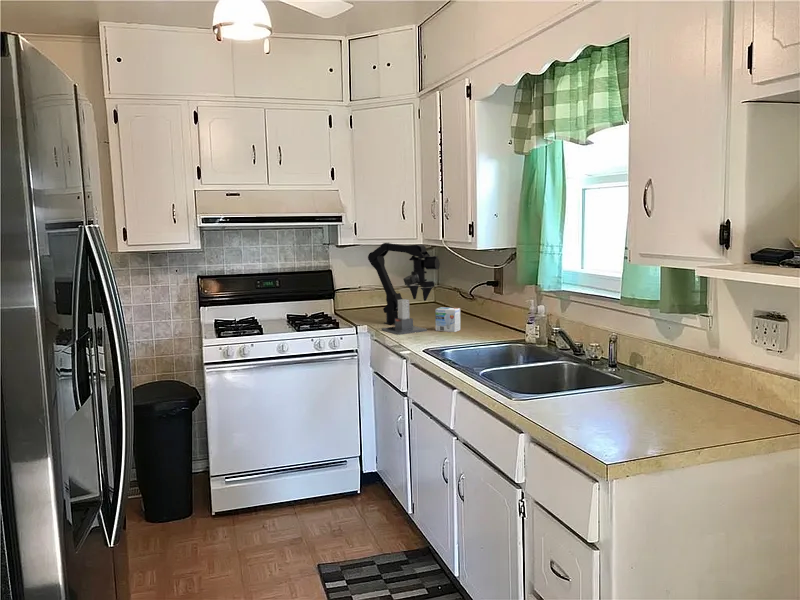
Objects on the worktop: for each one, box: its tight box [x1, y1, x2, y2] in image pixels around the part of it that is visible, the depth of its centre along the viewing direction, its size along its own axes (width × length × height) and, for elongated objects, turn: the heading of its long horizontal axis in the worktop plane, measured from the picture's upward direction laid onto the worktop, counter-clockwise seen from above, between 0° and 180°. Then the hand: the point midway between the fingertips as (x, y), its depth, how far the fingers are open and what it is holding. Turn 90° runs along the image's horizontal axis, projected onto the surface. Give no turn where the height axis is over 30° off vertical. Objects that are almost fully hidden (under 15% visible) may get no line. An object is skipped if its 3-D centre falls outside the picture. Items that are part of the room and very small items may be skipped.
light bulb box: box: [434, 306, 461, 333], centre depth 326 cm, size 11×7×11 cm, turn 62°
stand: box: [381, 317, 428, 336], centre depth 328 cm, size 16×16×6 cm
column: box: [397, 298, 411, 320], centre depth 327 cm, size 4×4×10 cm
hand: (419, 300), depth 341 cm, fingers open, 9 cm apart
